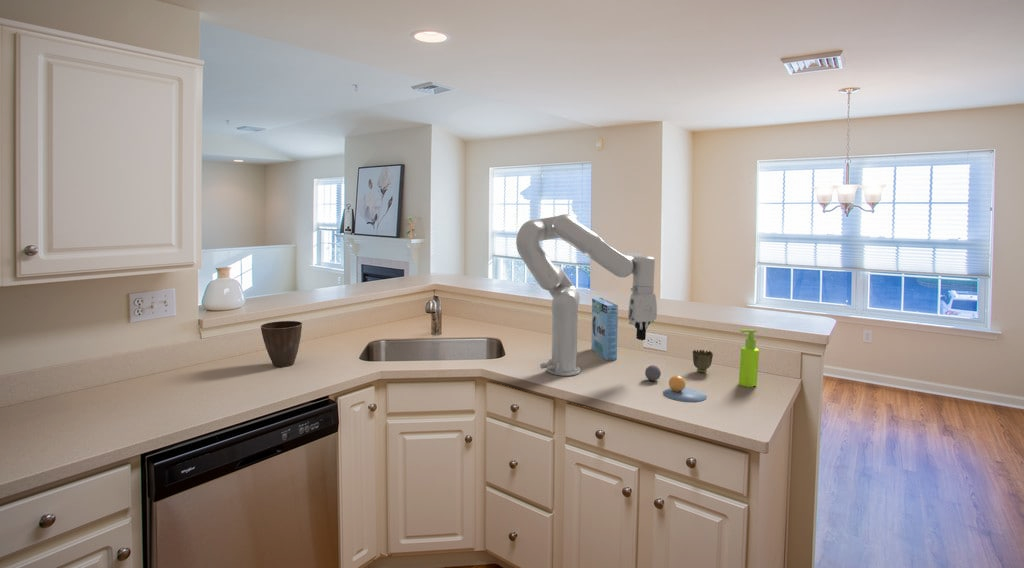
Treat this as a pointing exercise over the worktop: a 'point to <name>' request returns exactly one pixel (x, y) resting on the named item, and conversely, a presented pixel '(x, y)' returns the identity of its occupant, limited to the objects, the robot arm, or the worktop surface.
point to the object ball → (677, 383)
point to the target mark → (685, 395)
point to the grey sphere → (652, 373)
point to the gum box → (604, 328)
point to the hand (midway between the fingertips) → (640, 339)
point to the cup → (702, 360)
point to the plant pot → (282, 341)
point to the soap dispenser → (749, 361)
